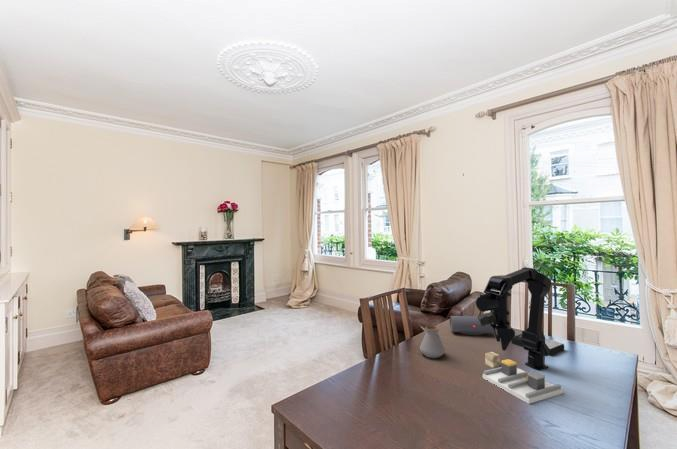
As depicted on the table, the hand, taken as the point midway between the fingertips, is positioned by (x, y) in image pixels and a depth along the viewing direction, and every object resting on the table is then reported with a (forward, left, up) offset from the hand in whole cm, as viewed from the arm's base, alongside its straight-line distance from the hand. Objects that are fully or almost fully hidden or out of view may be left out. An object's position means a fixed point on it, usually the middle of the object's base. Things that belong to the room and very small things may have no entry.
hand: (500, 345), depth 128 cm
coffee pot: (+13, -33, -13) cm, 38 cm away
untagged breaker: (-2, +13, -11) cm, 17 cm away
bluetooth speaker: (-27, -43, -13) cm, 53 cm away
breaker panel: (-1, +8, -13) cm, 15 cm away
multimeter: (-43, -16, -13) cm, 48 cm away
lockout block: (-5, -9, -13) cm, 16 cm away
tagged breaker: (-2, +2, -11) cm, 11 cm away
